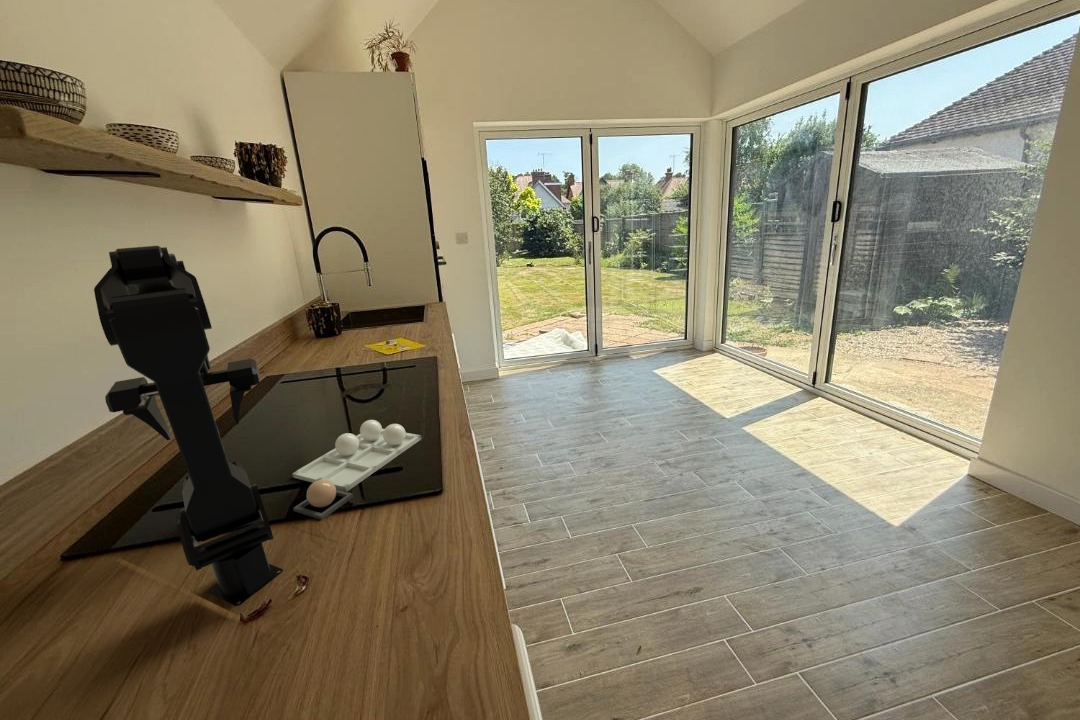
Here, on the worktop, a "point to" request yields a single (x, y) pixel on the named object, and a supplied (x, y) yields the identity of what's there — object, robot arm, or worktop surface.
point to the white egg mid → (347, 444)
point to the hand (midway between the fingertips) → (204, 431)
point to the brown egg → (321, 493)
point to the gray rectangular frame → (321, 516)
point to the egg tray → (354, 462)
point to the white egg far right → (370, 430)
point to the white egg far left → (394, 434)
